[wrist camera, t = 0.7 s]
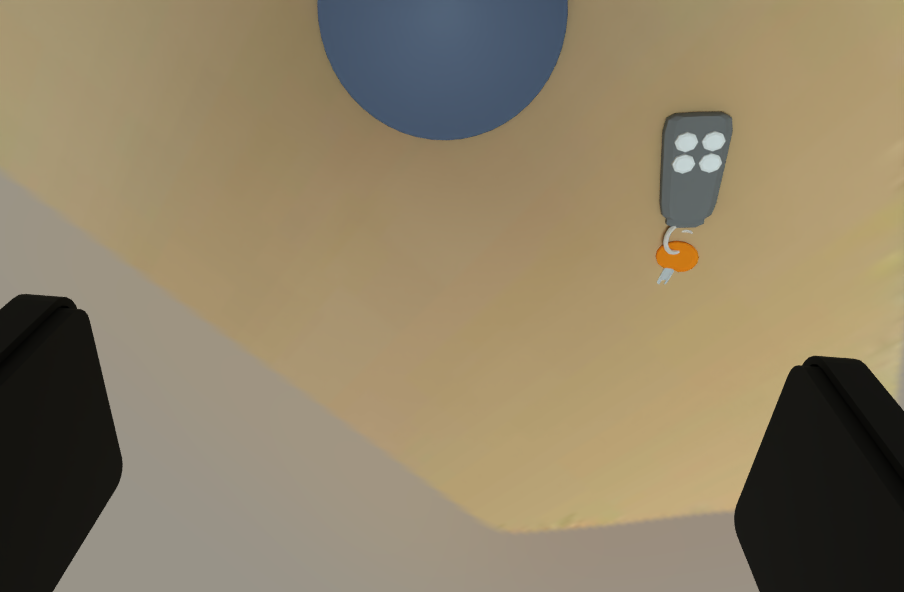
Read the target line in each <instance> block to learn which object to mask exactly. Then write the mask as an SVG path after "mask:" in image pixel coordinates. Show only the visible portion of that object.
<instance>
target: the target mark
mask: <svg viewBox="0 0 904 592" xmlns="http://www.w3.org/2000/svg"><path fill="white" fill-rule="evenodd" d="M567 15H568V6H567V0H318V21H319V27H320V32H321V38H322V41H323V45H324V48H325V51H326V54H327V57H328V59H329V61H330V63H331V66H332V68H333V70H334V72H335V73H336V75H337V77H338V79H339V80H340V82H341V84H342V85H343V86H344V88H345V89H346V90H347V91H348V93H349V94H350V95H351V97H352V98H353V99H354V100H355V101H356V102H357V103H358V104H359V105H360V106H361V107H362V108H363V109H364V110H366V111H367V112H368V113H369V114H371V115H372V116H373V117H374V118H376V119H377V120H379V121H381V122H382V123H384V124H386V125H387V126H389V127H391V128H394V129H396V130H398V131H400V132H402V133H406V134H409V135H412V136H415V137H420V138H426V139H432V140H454V139H463V138H468V137H472V136H477V135H479V134H482V133H485V132H488V131H491V130H493V129H494V128H496V127H498V126H500V125H502V124H504V123H506V122H507V121H509V120H510V119H512V118H513V117H515V116H516V115H517V114H518V113H520V112H521V111H522V110H523V109H524V108H525V107H526V106H527V105H529V103H530V102H531V101H532V100H533V99H534V98H535V97H536V96H537V94H538V93H539V92H540V91H541V89H542V88H543V86H544V85H545V83H546V82H547V80H548V79H549V77H550V75H551V73H552V71H553V69H554V67H555V65H556V63H557V60H558V57H559V55H560V52H561V49H562V45H563V41H564V37H565V33H566V24H567Z"/></svg>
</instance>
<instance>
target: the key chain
mask: <svg viewBox="0 0 904 592" xmlns="http://www.w3.org/2000/svg"><path fill="white" fill-rule="evenodd" d="M732 131H733V130H732V117H730V116H729V115H727V114H725V113H723V112H688V113H675V114H673V115H671V116H669V117H667V118H666V121H665V124H664V128H663V133H662V153H661V176H660V209H661V214H662V215H663V216H664V217H665V218H666V221H665V222H666V224H667V225H669V226H671V227H670V228H669V229H668V230H667V232H666V233H665V235H664V240H663V245H662V246H661V247H660V248H659V249H658V250H657V253H656V259H657V262H658V264H659V265H661V266H662V267H663V268H664V270H663V271H662V273H661V275H660V277H659V279H658V281H657V282H658V284H660V282H661V280H666V281H665V283H664V284H666V283H667V282H668V280H669V279H670V277H671V275H672V273H673V271H674V270H675V271H677V272H684V271H688V270H690V269H692V268H693V267H694V266H695V265H696V264H697V262H698V258H699V257H698V253H697V250H696V249H695V248H694V247H693V246H692V245H690V244H688V243H686V242H681V241H673V242H668V240H669V236H670V235H671V233H672V231H673V230H674V229H675V228H685V227H697V226H699V225H701V224H704V219H705V218H706V217H708V216H710V215H711V214H712V212H713V209H714V207H715V204H716V201H717V197H718V193H719V188H720V184H721V180H722V176H723V171H724V167H725V162H726V158H727V154H728V149H729V145H730V140H731V136H732ZM682 232H688V233H691V234H693V233H692V231H690V230H683V231H682Z"/></svg>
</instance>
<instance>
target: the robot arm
mask: <svg viewBox="0 0 904 592" xmlns="http://www.w3.org/2000/svg"><path fill="white" fill-rule="evenodd" d="M121 473H122V456H121V452H120V448H119V444H118V439H117V435H116V431H115V426H114V422H113V418H112V414H111V409H110V405H109V401H108V397H107V393H106V388H105V384H104V380H103V375H102V371H101V367H100V363H99V358H98V354H97V350H96V345H95V341H94V337H93V333H92V329H91V324H90V320H89V317H88V315H87V314H86V312H85V311H83V310H81V309H77V307H76V305H75V304H74V302H73V301H72V300H71V299H69V298H67V297H57V296H43V295H31V294H21V295H18V296H16V297H15V298H13V299H12V300H11V301H10V302H8V303H7V304H6V305H5V306H4V307H3V308H1V309H0V592H53V590H54V589H55V587H56V585H57V584H58V582H59V581H60V579H61V577H62V576H63V574H64V572H65V571H66V569H67V567H68V566H69V564H70V563H71V561H72V559H73V558H74V556H75V554H76V553H77V551H78V549H79V548H80V546H81V545H82V543H83V542H84V540H85V538H86V537H87V535H88V533H89V532H90V530H91V528H92V527H93V525H94V524H95V522H96V520H97V518H98V517H99V515H100V514H101V512H102V510H103V509H104V507H105V506H106V504H107V502H108V501H109V499H110V498H111V496H112V494H113V493H114V491H115V489H116V487H117V486H118V484H119V481H120V478H121ZM734 522H735V530H736V533H737V537H738V539H739V542H740V544H741V547H742V549H743V551H744V554H745V556H746V559H747V561H748V564H749V566H750V569H751V571H752V574H753V576H754V579H755V581H756V584H757V586H758V589H759V591H760V592H904V411H903V410H902V408H901V407H900V406H899V405H898V403H897V402H896V401H895V400H894V399H893V397H892V396H891V395H890V394H889V393H888V391H887V390H886V389H885V388H884V386H883V385H882V384H881V383H880V382H879V380H878V379H877V378H876V377H875V376H874V374H873V373H872V372H871V371H870V369H869V368H868V367H867V366H866V365H865V364H864V363H863V362H862V361H860V360H857V359H850V358H837V357H824V356H812V357H809V358H808V359H807V360H806V361H805V362H804V363H803V365H802V366H800V365H798V366H795V367H793V368H792V369H791V371H790V373H789V374H788V377H787V379H786V382H785V384H784V387H783V389H782V392H781V394H780V397H779V399H778V402H777V404H776V407H775V409H774V412H773V415H772V417H771V420H770V422H769V425H768V427H767V430H766V432H765V435H764V437H763V440H762V442H761V445H760V447H759V450H758V452H757V455H756V457H755V460H754V462H753V465H752V467H751V470H750V473H749V475H748V478H747V480H746V483H745V485H744V488H743V490H742V493H741V495H740V498H739V500H738V503H737V505H736V509H735V515H734Z"/></svg>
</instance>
